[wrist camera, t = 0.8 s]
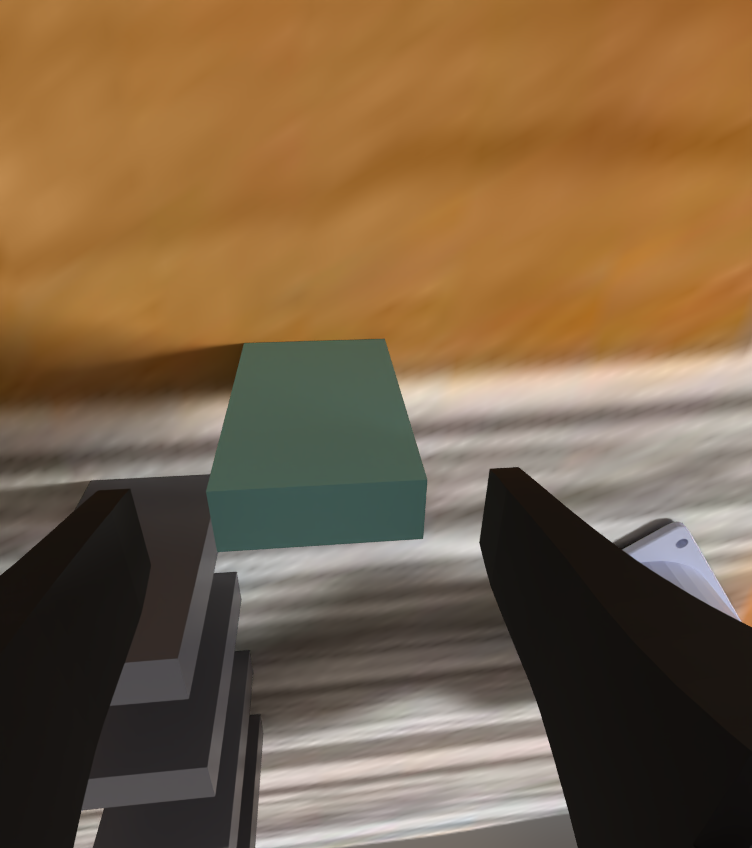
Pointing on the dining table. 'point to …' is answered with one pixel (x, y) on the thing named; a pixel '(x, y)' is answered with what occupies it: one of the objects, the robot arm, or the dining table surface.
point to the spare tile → (315, 450)
